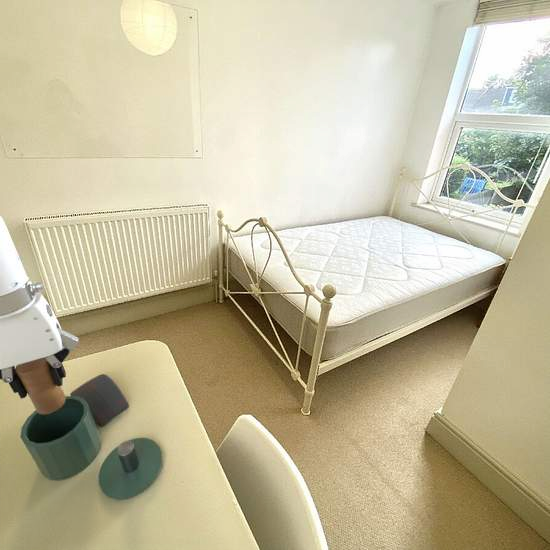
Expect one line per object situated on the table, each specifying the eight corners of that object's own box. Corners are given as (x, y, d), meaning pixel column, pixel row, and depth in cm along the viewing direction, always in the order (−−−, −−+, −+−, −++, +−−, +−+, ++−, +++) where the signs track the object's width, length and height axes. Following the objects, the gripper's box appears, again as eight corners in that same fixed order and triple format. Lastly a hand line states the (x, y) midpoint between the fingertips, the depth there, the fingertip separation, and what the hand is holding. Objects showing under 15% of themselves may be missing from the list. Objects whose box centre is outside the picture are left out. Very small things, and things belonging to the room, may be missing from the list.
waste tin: (38, 491, 55) (17, 457, 50) (42, 442, 63) (24, 409, 58) (103, 463, 60) (89, 429, 55) (99, 421, 68) (86, 388, 63)
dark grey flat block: (101, 377, 79) (98, 365, 77) (133, 404, 72) (129, 393, 70) (68, 398, 73) (63, 386, 71) (98, 430, 66) (94, 418, 64)
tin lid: (102, 514, 53) (92, 494, 49) (97, 457, 61) (89, 436, 58) (168, 481, 58) (163, 460, 55) (156, 432, 66) (151, 411, 63)
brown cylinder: (35, 418, 52) (13, 377, 48) (37, 399, 56) (16, 359, 51) (65, 408, 54) (47, 367, 50) (65, 390, 58) (48, 350, 53)
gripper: (69, 273, 51) (96, 355, 60) (-72, 299, 43) (-16, 389, 52) (69, 295, 45) (99, 382, 54) (-93, 330, 37) (-26, 425, 46)
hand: (42, 385), depth 53 cm, fingers closed on brown cylinder, 4 cm apart
